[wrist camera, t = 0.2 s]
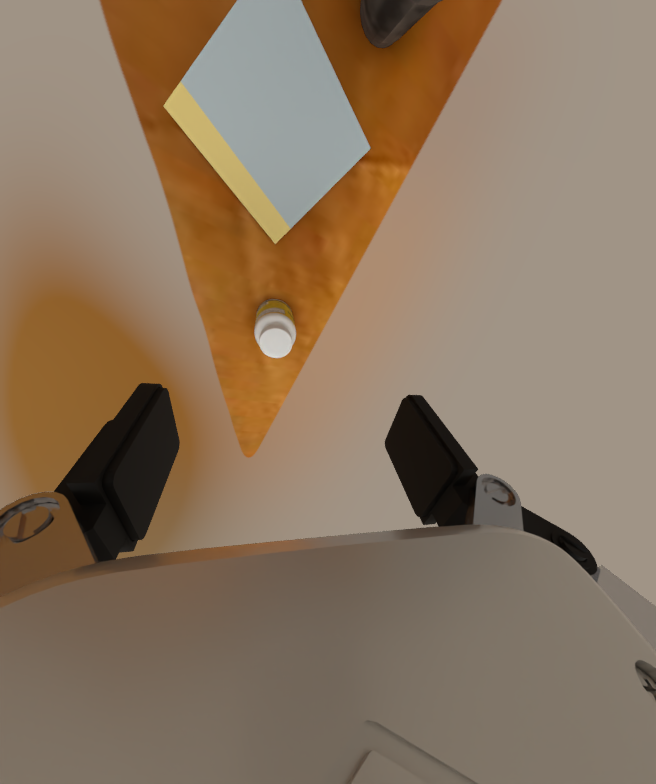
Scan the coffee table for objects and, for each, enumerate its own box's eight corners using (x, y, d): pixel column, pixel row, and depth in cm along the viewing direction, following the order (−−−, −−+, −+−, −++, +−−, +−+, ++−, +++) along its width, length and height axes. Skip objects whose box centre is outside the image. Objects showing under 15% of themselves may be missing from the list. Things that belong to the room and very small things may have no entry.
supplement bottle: (292, 333, 41) (296, 363, 33) (257, 332, 40) (253, 363, 32) (293, 298, 38) (298, 323, 30) (255, 296, 37) (250, 321, 29)
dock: (275, -26, 22) (275, -54, 19) (362, 152, 29) (370, 148, 27) (173, 114, 25) (163, 106, 23) (275, 241, 33) (275, 244, 31)
